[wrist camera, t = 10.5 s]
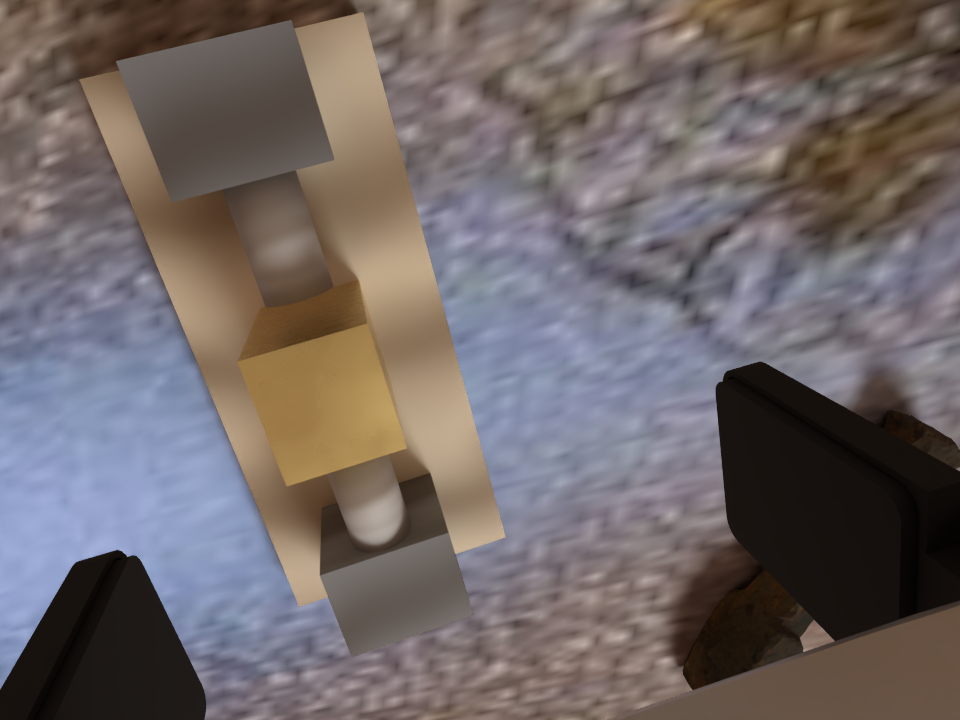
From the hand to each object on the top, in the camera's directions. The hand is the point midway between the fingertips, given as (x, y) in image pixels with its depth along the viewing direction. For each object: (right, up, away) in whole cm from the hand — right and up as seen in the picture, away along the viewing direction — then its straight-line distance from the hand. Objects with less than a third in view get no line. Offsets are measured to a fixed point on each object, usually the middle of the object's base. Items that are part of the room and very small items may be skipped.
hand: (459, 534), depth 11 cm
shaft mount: (-6, +4, +18) cm, 20 cm away
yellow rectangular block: (-6, +3, +17) cm, 18 cm away
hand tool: (+18, -8, +28) cm, 34 cm away
